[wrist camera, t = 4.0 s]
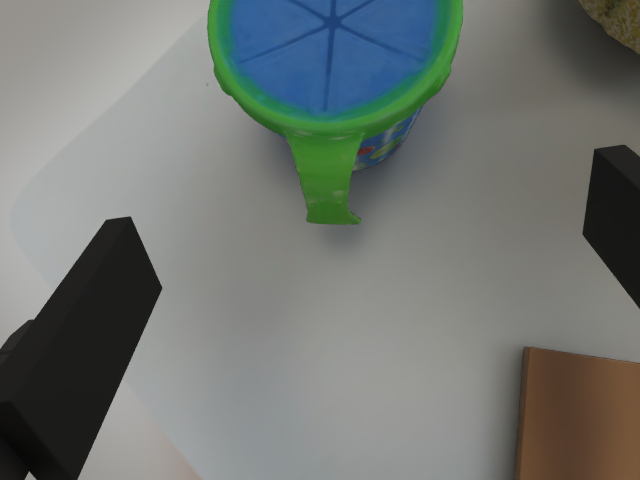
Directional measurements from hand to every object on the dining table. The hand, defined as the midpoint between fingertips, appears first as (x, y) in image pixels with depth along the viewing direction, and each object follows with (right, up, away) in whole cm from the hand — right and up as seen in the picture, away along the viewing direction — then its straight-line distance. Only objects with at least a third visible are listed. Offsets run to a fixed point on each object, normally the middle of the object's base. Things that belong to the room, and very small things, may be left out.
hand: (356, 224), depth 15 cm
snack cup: (+1, +7, +16) cm, 17 cm away
